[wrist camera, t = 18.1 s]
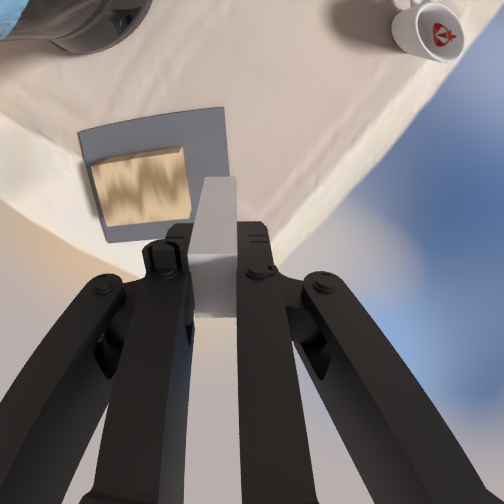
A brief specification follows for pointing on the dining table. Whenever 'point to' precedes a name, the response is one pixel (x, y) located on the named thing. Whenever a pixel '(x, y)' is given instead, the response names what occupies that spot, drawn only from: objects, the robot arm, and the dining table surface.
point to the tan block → (143, 187)
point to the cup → (429, 31)
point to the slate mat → (154, 138)
